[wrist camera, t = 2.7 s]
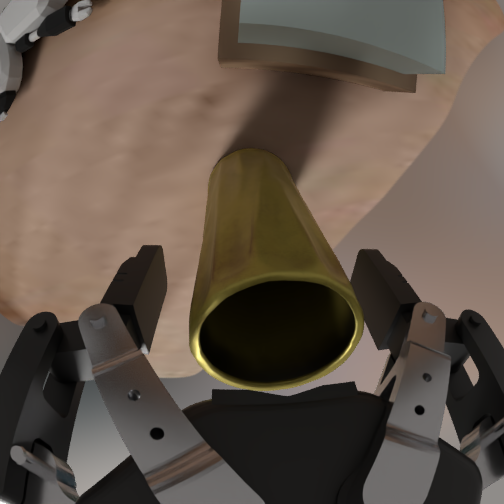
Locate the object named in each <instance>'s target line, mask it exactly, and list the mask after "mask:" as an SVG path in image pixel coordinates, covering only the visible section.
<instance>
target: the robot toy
mask: <svg viewBox="0 0 504 504" xmlns="http://www.w3.org/2000/svg"><path fill="white" fill-rule="evenodd" d="M67 1H68V0H11V1H10V2H9V4H8V5H7V6H6V7H5V8H4V10H3V12H2V13H1V15H0V122H1V121H3V120H4V119H5V118H6V117H7V116H8V114H7V111H8V110H9V108H10V107H11V104H12V103H13V101H14V99H15V97H16V92H17V91H18V89H19V87H20V83H21V79H22V69H23V62H22V56H21V53H22V52H25V51H27V50H28V49H30V48H31V47H33V46H34V41H35V40H37V39H39V38H40V37H47V36H57V35H58V34H60V33H62V32H64V31H66V30H68V29H70V28H72V27H74V26H75V25H76V21H81V20H84V19H85V18H87V17H88V16H90V15H91V13H92V8H91V7H90V6H92V2H91V1H90V0H84V1H80V2H78V3H77V4H76V5H75V6H74V7H71V6H64V5H65V3H66V2H67ZM63 6H64V7H63Z"/></svg>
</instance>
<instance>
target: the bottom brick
mask: <svg viewBox="0 0 504 504" xmlns="http://www.w3.org/2000/svg"><path fill="white" fill-rule="evenodd" d="M240 6H241V0H222V7H221V19H220V32H219V46H218V61H219V64H220V67H221V68H245V69H262V70H275V71H284V72H293V73H301V74H308V75H314V76H320V77H326V78H332V79H337V80H342V81H346V82H351V83H355V84H360V85H364V86H368V87H372V88H375V89H379V90H383V91H391V92H410V93H416V80H417V74H402V73H399V72H396V71H393V70H390V69H387V68H384V67H381V66H378V65H374V64H371V63H367V62H364V61H360V60H356V59H352V58H348V57H344V56H339V55H335V54H330V53H325V52H320V51H314V50H308V49H302V48H295V47H287V46H278V45H268V44H254V43H238V33H239V19H240Z"/></svg>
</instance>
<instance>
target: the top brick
mask: <svg viewBox="0 0 504 504" xmlns="http://www.w3.org/2000/svg"><path fill="white" fill-rule="evenodd" d="M238 43H254V44H268V45H278V46H287V47H295V48H302V49H308V50H314V51H320V52H325V53H330V54H335V55H339V56H344V57H348V58H352V59H356V60H360V61H364V62H367V63H371V64H374V65H378V66H381V67H384V68H387V69H390V70H393V71H396V72H399V73H402V74H445V63H446V41H445V19H444V7H443V0H241V6H240V19H239V33H238Z"/></svg>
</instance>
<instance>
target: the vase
mask: <svg viewBox="0 0 504 504" xmlns="http://www.w3.org/2000/svg"><path fill="white" fill-rule="evenodd" d="M363 330H364V314H363V310H362V308H361V306H360V304H359V302H358V300H357V298H356V296H355V293H354V290H353V287H352V285H351V283H350V281H349V279H348V278H347V276H346V274H345V272H344V270H343V268H342V266H341V265H340V262H339V261H338V259H337V257H336V255H335V254H334V252H333V251H332V249H331V247H330V245H329V244H328V242H327V240H326V239H325V237H324V235H323V233H322V232H321V230H320V228H319V226H318V224H317V223H316V221H315V219H314V218H313V216H312V214H311V212H310V210H309V209H308V207H307V205H306V203H305V202H304V200H303V198H302V196H301V195H300V193H299V191H298V189H297V187H296V185H295V184H294V182H293V180H292V176H291V174H290V172H289V170H288V169H287V167H286V166H285V164H284V163H283V162H282V161H281V160H280V159H279V158H278V157H277V156H275V155H274V154H272V153H270V152H268V151H265V150H262V149H254V148H249V149H241V150H238V151H235V152H233V153H231V154H229V155H228V156H226V157H224V158H223V159H221V160H220V161H219V163H218V164H217V165H216V167H215V168H214V170H213V171H212V173H211V175H210V179H209V184H208V199H207V205H206V215H205V224H204V232H203V243H202V248H201V253H200V259H199V265H198V270H197V275H196V281H195V286H194V292H193V298H192V303H191V309H190V317H189V347H190V350H191V353H192V354H193V356H194V358H195V359H196V361H197V363H198V364H199V365H200V366H201V367H202V368H203V369H204V370H205V371H206V372H207V373H208V374H209V375H211V376H212V377H214V378H215V379H217V380H219V381H221V382H223V383H226V384H228V385H231V386H234V387H237V388H242V389H248V390H255V391H270V390H280V389H287V388H293V387H297V386H300V385H303V384H306V383H309V382H311V381H314V380H316V379H319V378H321V377H323V376H325V375H327V374H329V373H330V372H332V371H333V370H335V369H336V368H338V367H339V366H340V365H341V364H343V363H344V361H346V360H347V359H348V357H349V356H350V355H351V354H352V352H353V351H354V349H355V348H356V346H357V344H358V343H359V341H360V339H361V337H362V334H363Z"/></svg>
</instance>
